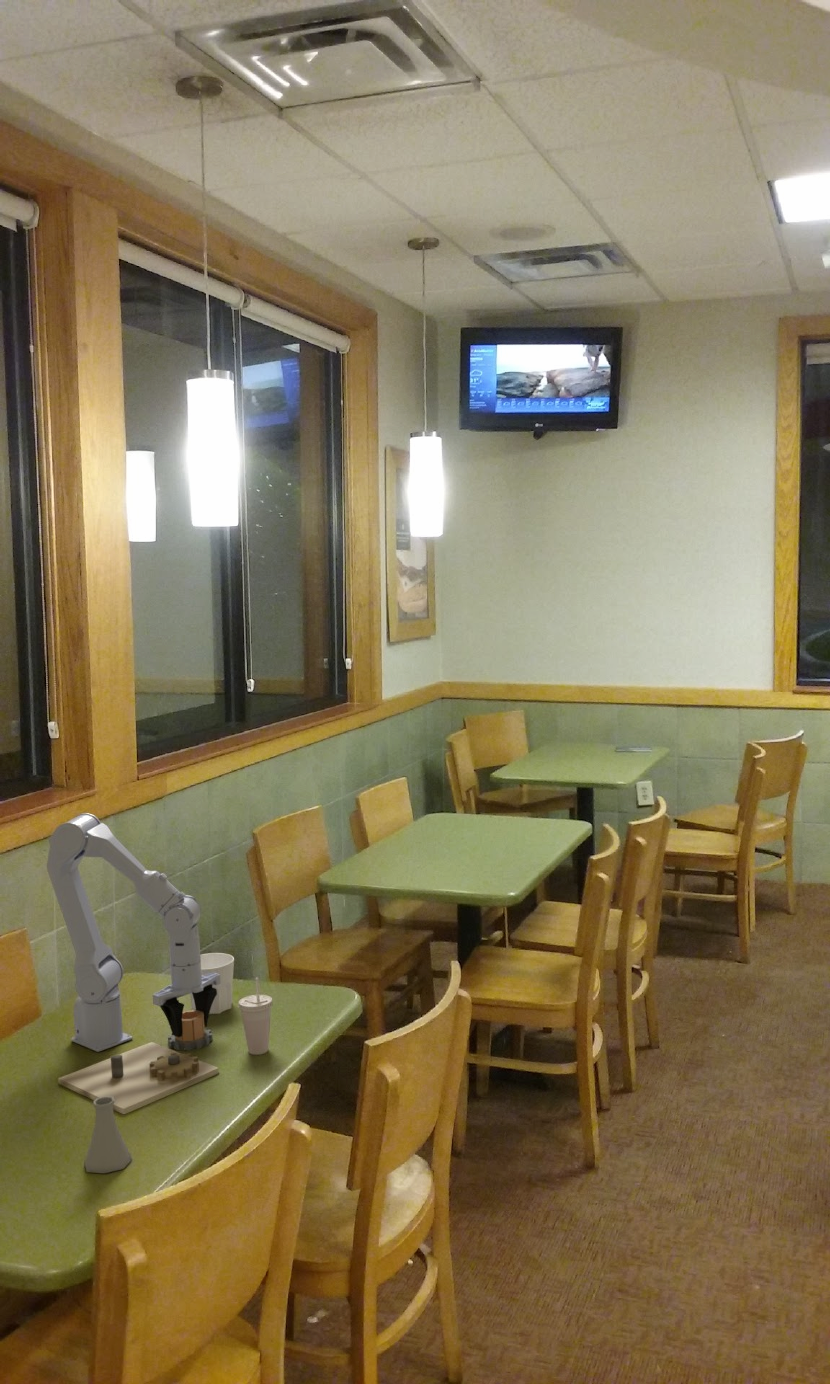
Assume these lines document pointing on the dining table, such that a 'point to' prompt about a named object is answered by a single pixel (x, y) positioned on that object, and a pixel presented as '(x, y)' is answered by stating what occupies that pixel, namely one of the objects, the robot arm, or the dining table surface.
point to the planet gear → (191, 1032)
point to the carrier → (139, 1076)
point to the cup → (224, 967)
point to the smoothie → (256, 1020)
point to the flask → (106, 1141)
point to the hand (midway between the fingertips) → (189, 1030)
